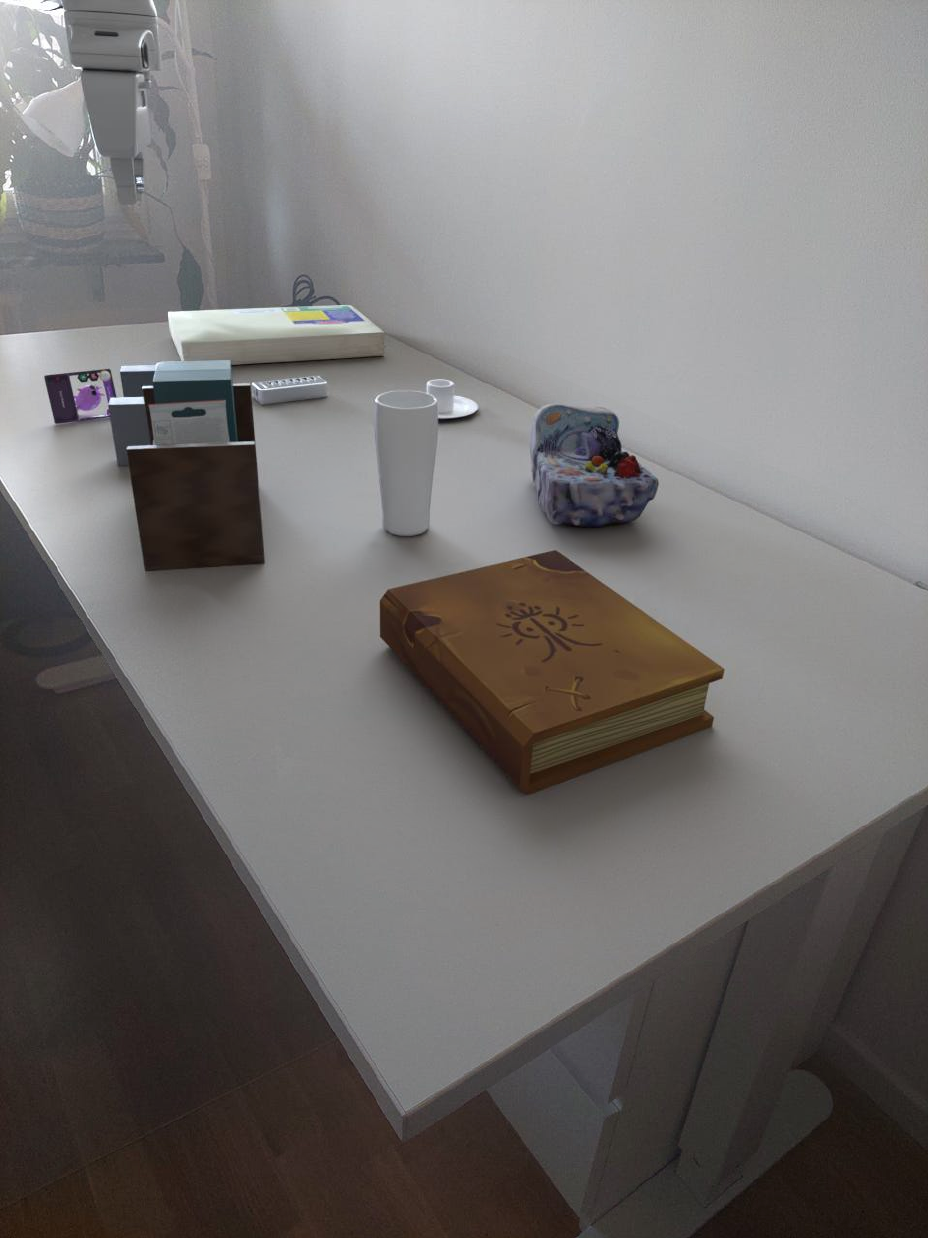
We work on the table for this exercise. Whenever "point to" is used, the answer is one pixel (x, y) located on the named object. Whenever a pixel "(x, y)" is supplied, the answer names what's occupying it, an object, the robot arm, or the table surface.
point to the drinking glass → (406, 458)
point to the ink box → (189, 423)
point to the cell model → (586, 468)
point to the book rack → (199, 496)
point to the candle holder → (450, 400)
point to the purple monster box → (85, 400)
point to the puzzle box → (275, 334)
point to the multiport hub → (289, 389)
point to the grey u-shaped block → (130, 410)
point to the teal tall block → (196, 387)
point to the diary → (548, 666)
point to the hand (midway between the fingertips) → (132, 198)
